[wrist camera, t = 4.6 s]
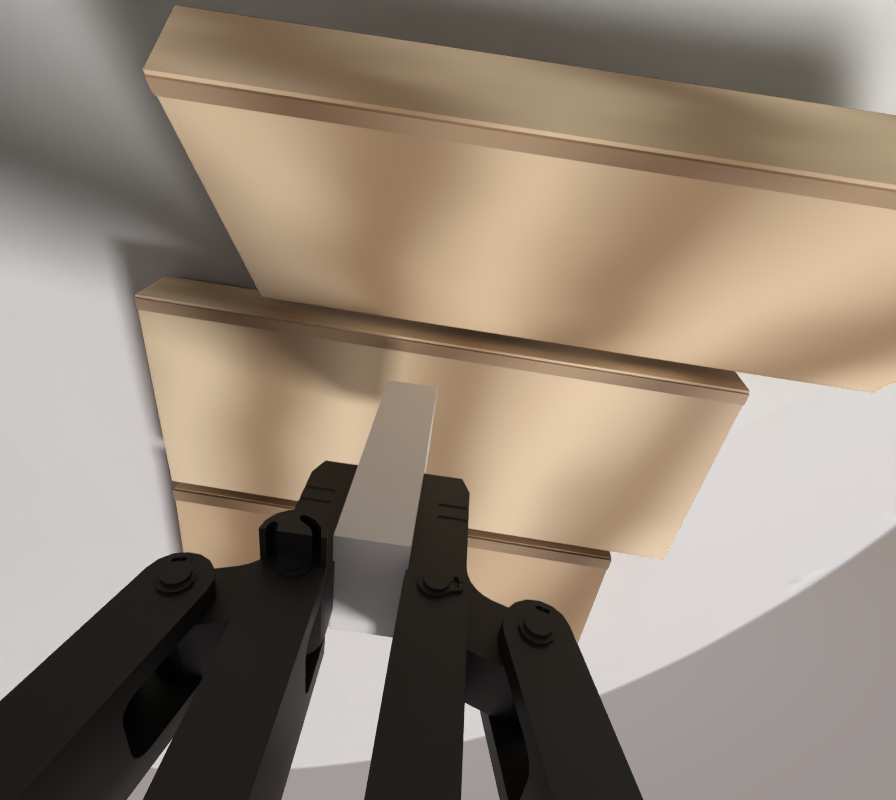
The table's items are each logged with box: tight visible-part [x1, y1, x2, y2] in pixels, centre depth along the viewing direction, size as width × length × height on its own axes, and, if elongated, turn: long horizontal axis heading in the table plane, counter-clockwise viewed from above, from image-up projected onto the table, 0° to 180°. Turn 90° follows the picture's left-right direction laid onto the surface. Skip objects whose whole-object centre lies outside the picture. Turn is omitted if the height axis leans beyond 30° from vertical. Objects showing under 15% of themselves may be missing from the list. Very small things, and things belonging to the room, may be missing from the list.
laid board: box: [173, 482, 611, 644], centre depth 24 cm, size 18×7×2 cm, turn 82°
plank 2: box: [134, 276, 750, 560], centre depth 20 cm, size 20×8×2 cm, turn 82°
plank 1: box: [143, 5, 896, 393], centre depth 14 cm, size 20×8×2 cm
